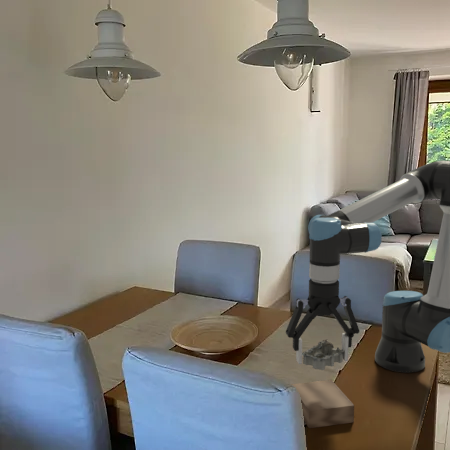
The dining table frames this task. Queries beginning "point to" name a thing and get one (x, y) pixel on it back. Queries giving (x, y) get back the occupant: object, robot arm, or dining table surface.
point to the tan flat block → (324, 404)
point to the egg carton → (322, 355)
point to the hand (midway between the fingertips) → (321, 360)
